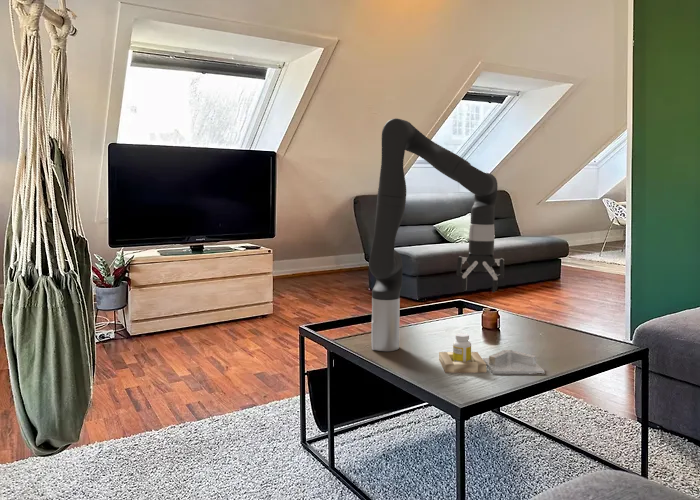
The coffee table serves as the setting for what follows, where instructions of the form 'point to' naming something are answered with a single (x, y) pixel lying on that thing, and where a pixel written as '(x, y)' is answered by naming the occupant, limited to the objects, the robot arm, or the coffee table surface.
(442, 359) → the square frame block
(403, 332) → the coffee table surface
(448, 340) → the coffee table surface
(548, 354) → the coffee table surface
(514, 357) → the v block
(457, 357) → the supplement bottle
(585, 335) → the coffee table surface
